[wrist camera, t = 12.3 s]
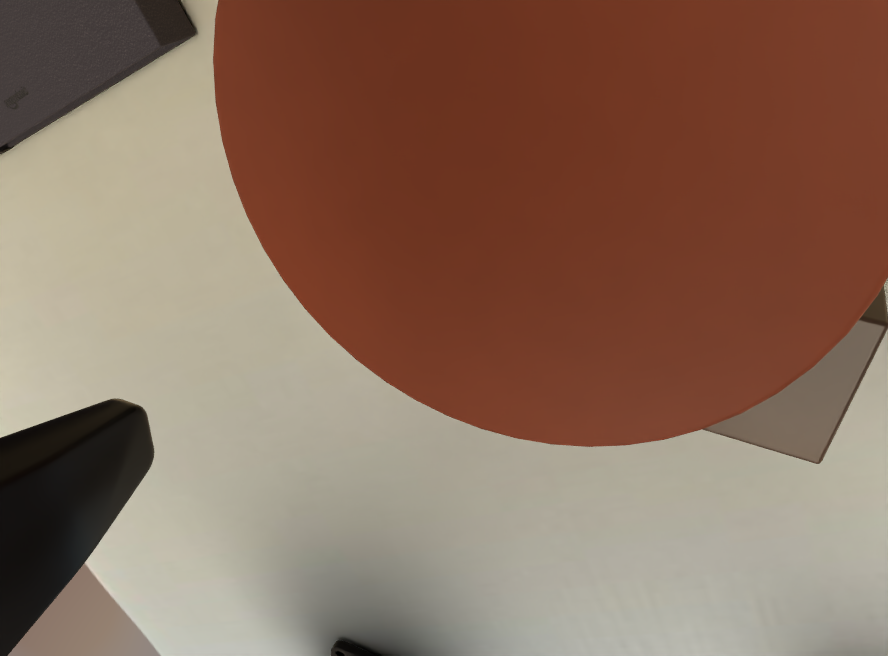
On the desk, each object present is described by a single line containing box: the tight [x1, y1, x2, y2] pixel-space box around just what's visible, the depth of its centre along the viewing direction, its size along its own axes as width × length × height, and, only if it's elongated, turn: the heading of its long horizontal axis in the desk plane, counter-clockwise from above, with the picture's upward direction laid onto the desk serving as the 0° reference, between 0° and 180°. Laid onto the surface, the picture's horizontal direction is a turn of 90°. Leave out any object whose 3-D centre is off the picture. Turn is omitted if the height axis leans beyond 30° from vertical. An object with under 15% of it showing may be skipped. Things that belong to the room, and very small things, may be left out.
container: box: [213, 0, 888, 447], centre depth 11 cm, size 12×6×12 cm
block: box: [703, 285, 888, 464], centre depth 17 cm, size 4×10×5 cm, turn 86°
